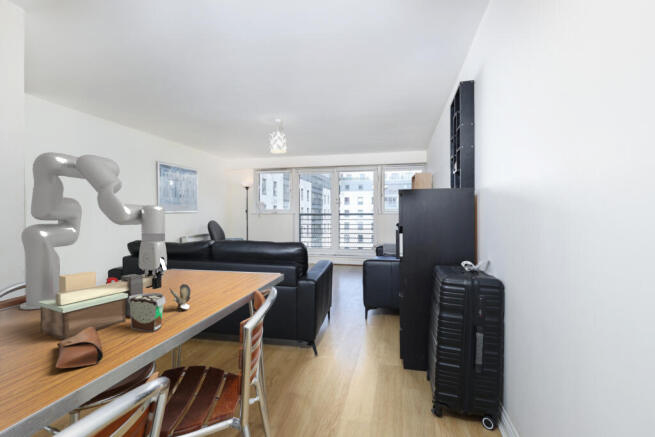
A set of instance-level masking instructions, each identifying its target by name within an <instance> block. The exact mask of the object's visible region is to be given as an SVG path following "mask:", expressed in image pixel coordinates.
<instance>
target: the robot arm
mask: <svg viewBox="0 0 655 437" xmlns="http://www.w3.org/2000/svg"><path fill="white" fill-rule="evenodd" d="M119 175H120V167H119V165H118V163H117V162H116V161H115V160H113V159H111V158H108V157H103V156H100V155H99V156H98V155H93V154H84V155H81V156H75V155H71V154H66V153H60V152H50V151H49V152H43V153H41V154H39V155H38V156H37V157H36V158H35V160H34V161H33V164H32V177H33V187H32V196H31V204H30V215H31V217H33V218H34V219H35V220H39V221H49V222H50V221H51V222H52V221H55V222H56V221H57V223H37V224H31V225H29V226H27V227H25V228H23V231H22V232H21V238H20V239H21V243H22V245H23V250H24V256H25V302H24V303H21V304H20V305H19V309H21V310H29V311H30V310H41V306H38V301H43V300H48V299H53V298H55V294H56V293H59V276H61V264H60V263H61V261H60V260H61V259H60V256H59V254H58V252H57V251H56V250H55V248H59V247H68V246H69V247H70V246H72V245H74V244H75V243H76V242H77V241H78V239H79V236H80V230H81V225H82V224H81V221H82V214H83V210H82V209H83V208H82V206H81V204H80V202H79V201H78V200H77V199H76V198H75V199H74V198H72V197H64V190H65V187H64V184H63V181H62V180H61V178H60V177H67V178H74V179H82V180H86V182H87V183H88V184H90V186H91V187H92V188H93V189H94V190H95V191H96V192H97V197H96V198H97V199H96V200H97V205H98V208H99V210H100V211H101V212H102V213H103V214H104V215H105V217H107V219H109V221H111V222H112V223H113V224H115V225H117V226H132V225H133V226H134V225H135V226H137V225H138V226H141V242H140V246H139V251H138V252H139V253H138V267H139V269H141V270H142V271H143V273H144V277H146V276H151V275H153V277H154V278H152V285H151V286H147V287H145V288H146V289H150V288H151V289H152V290H157V289H162V282H163V281H162V280H163V279H162V278H163V275H164V273H166V272H167V265H168V254H167V246H166V208H165V207H164V206H163V205H157V204H154V205H153V204H151V205H150V204H147V205H145V204H144V205H143V204H133V203H132V204H131V203H129V204H128V203H127V204H126V203H123V202H122V201H121V200H120V199H119V198H118V197H117V196H116V194H117V193H119V191H120V190H121V189H122V186H123V183H122V180H121V179H119V178H118V176H119Z"/></svg>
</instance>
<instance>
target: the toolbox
mask: <svg viewBox="0 0 655 437" xmlns="http://www.w3.org/2000/svg"><path fill="white" fill-rule="evenodd" d="M143 277H144V275H142V274H136V273H132V274H131V273H130V274H125V275H121V276H120V281H125V280H127V281H129V290H128V291H124V292H121V293H126V294H128V298H123V299H119V300H115V301H111V302H107V303H103V304H98V305H94V306H90V307H86V308H82V309H78V310H74V311H69V312H65V313H61V312H58V311H55V310H51V309H48V308H44V307H41V309H40V333H42V334H46V335H48V336H51V337H53V338H56V339H58V340H61V341H63V340H65V339H68V338H70V337H72V336H75V335H77V334H78V333H80V332H82V331H83V330H85V329H87V328H89V327H94V328H95V330H96V332H98V331H100V330H104V329H107V328H110V327H114V326H117V325H119V324H123V323H126V317H127V316H129V319H130V320H131V315H130V303H128V299H129V296H132V295H138V294H144V287H143Z"/></svg>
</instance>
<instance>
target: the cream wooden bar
mask: <svg viewBox="0 0 655 437" xmlns="http://www.w3.org/2000/svg"><path fill="white" fill-rule="evenodd" d="M152 278H154V277H153V275H151V276H146V277H145V276H143V288H146V287H147V286H151V285H152ZM118 281H119V280H118ZM128 290H129V281H127V280H125V281H121V280H120V281H119V282H114V283H109V284H106V283H105V284H104V283H103V284H99V285H96V286H93V287H88V288H82V289H77V290H72V291H66V292H61V293H56V294H55V299H56V304H58V305H65V304H69V303H74V302H78V301H83V300H88V299H92V298H97V297H101V296H106V295H110V294H115V293H119V292H124V291H128Z"/></svg>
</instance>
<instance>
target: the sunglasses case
mask: <svg viewBox="0 0 655 437" xmlns="http://www.w3.org/2000/svg"><path fill="white" fill-rule="evenodd" d="M57 347H58V356H57V360H56V363H55V369H75V368H81V367H86V366H92V365H96V364H98V363H99V362H100V361H101V360H103V356H104V353H103V347H102V342H101V340H100V336H99V333H98V331H96V330H95V328H94V327H89V328H87V329H85V330H83V331H82V332H80V333H78V334H77V335H75V336H72V337H70V338H68V339H65V340H61V341H59V342H57Z"/></svg>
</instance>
